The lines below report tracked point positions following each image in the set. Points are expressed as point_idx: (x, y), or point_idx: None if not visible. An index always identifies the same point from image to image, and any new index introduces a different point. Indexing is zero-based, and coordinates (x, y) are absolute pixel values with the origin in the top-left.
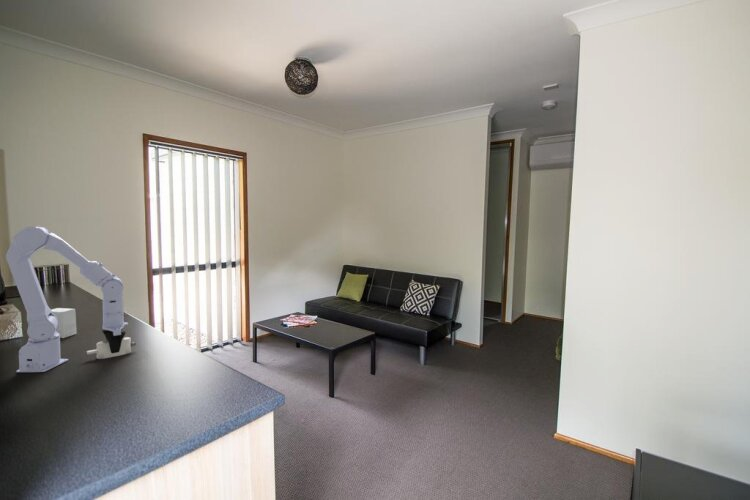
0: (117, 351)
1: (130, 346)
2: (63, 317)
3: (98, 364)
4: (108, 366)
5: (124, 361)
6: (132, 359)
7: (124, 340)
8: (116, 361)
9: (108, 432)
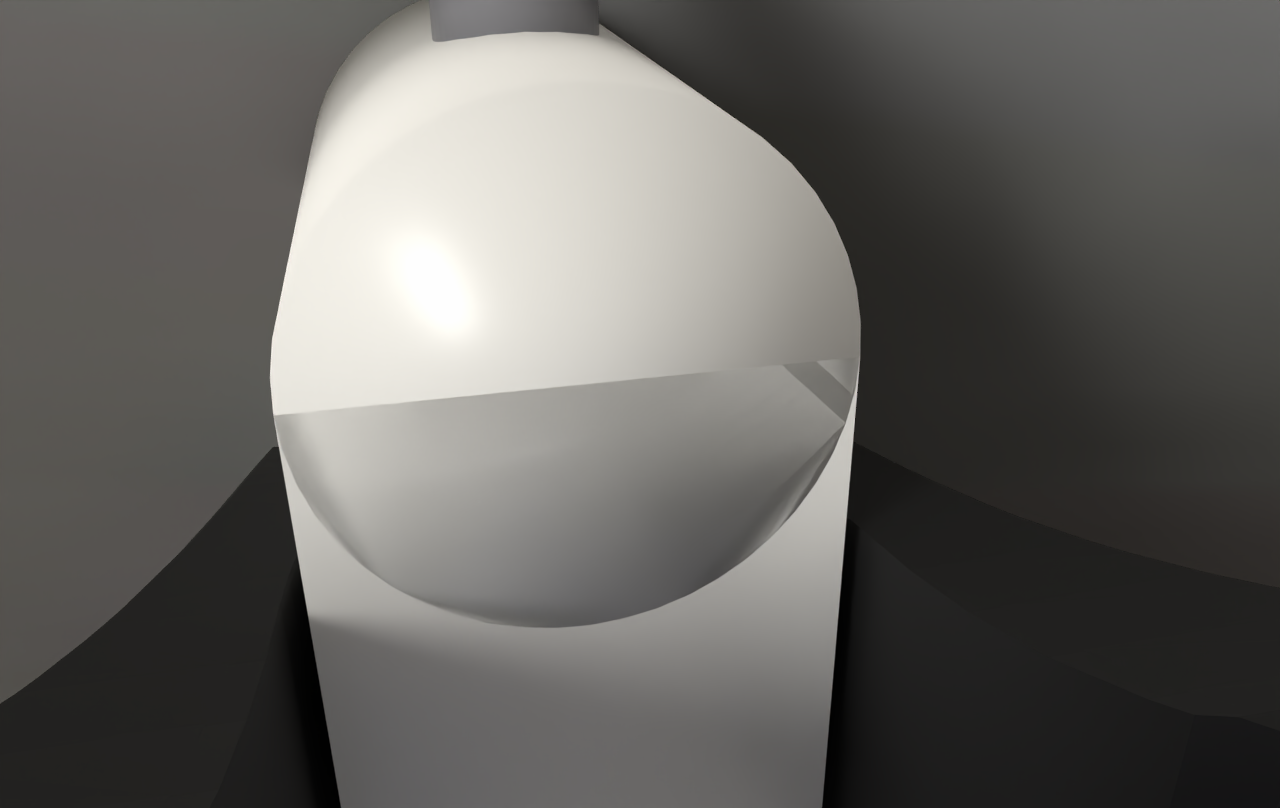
0: None
1: (606, 34)
2: None
3: None
4: (1275, 550)
5: (1252, 255)
6: (1275, 60)
7: (848, 394)
8: (1101, 411)
9: None
